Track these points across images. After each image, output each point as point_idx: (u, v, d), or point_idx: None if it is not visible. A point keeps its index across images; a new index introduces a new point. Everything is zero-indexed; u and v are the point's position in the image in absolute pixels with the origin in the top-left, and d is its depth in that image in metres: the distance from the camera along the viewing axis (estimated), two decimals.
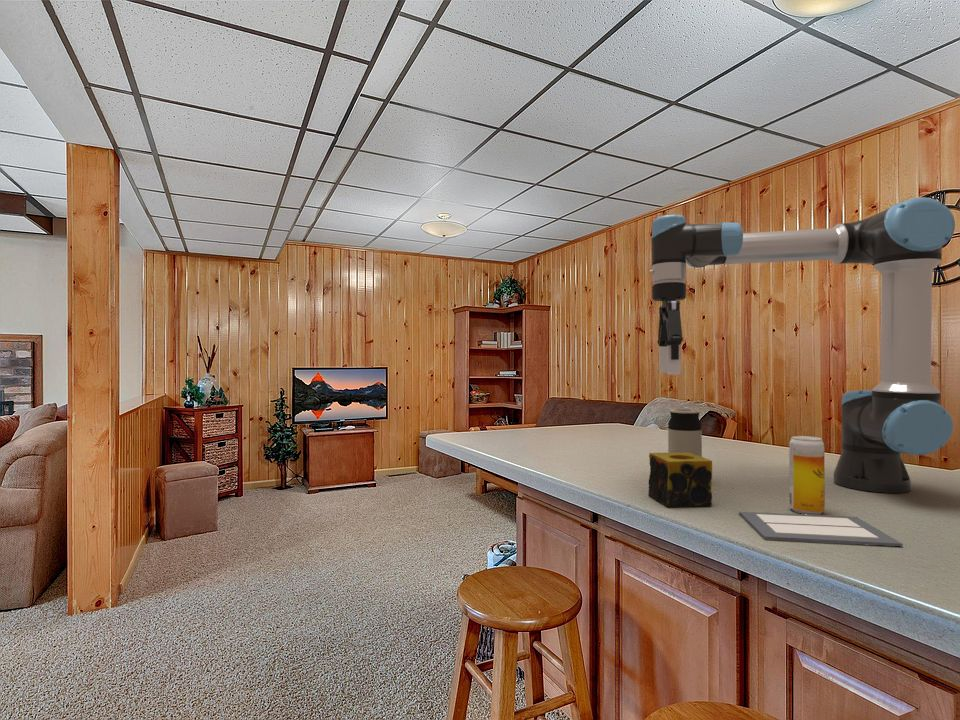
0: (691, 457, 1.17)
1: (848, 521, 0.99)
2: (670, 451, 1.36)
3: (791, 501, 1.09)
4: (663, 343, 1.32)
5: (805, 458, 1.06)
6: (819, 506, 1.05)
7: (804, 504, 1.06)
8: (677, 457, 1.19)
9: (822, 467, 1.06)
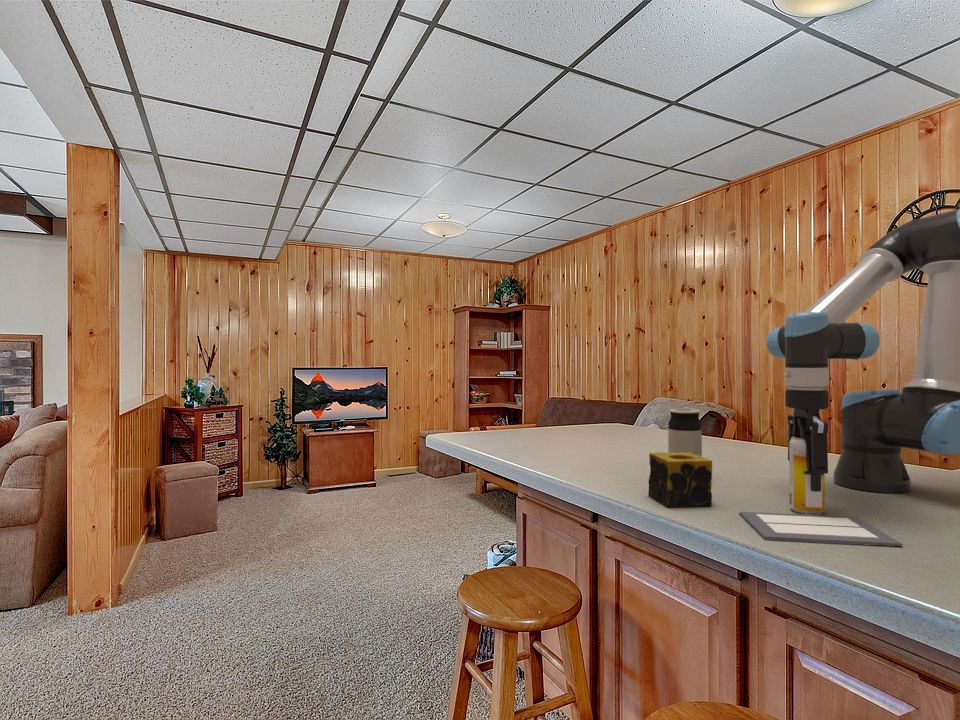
0: (691, 457, 1.17)
1: (848, 521, 0.99)
2: (670, 451, 1.36)
3: (791, 501, 1.09)
4: None
5: (805, 458, 1.06)
6: None
7: (804, 504, 1.06)
8: (677, 457, 1.19)
9: None
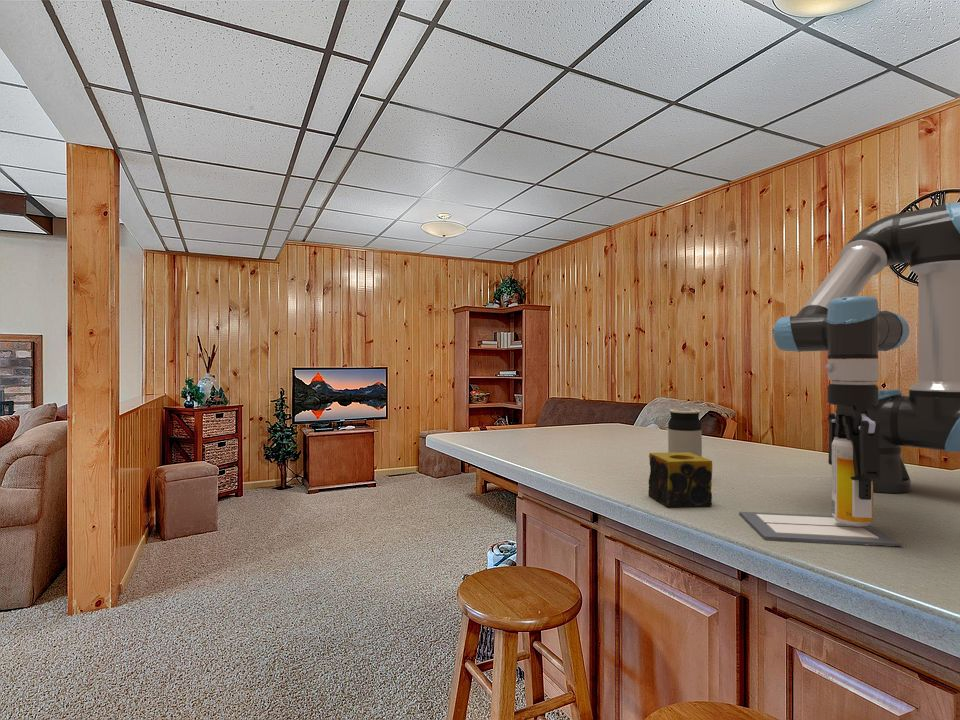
0: (691, 457, 1.17)
1: None
2: (670, 451, 1.36)
3: (834, 510, 0.96)
4: None
5: (851, 462, 0.94)
6: None
7: (850, 514, 0.94)
8: (677, 457, 1.19)
9: None
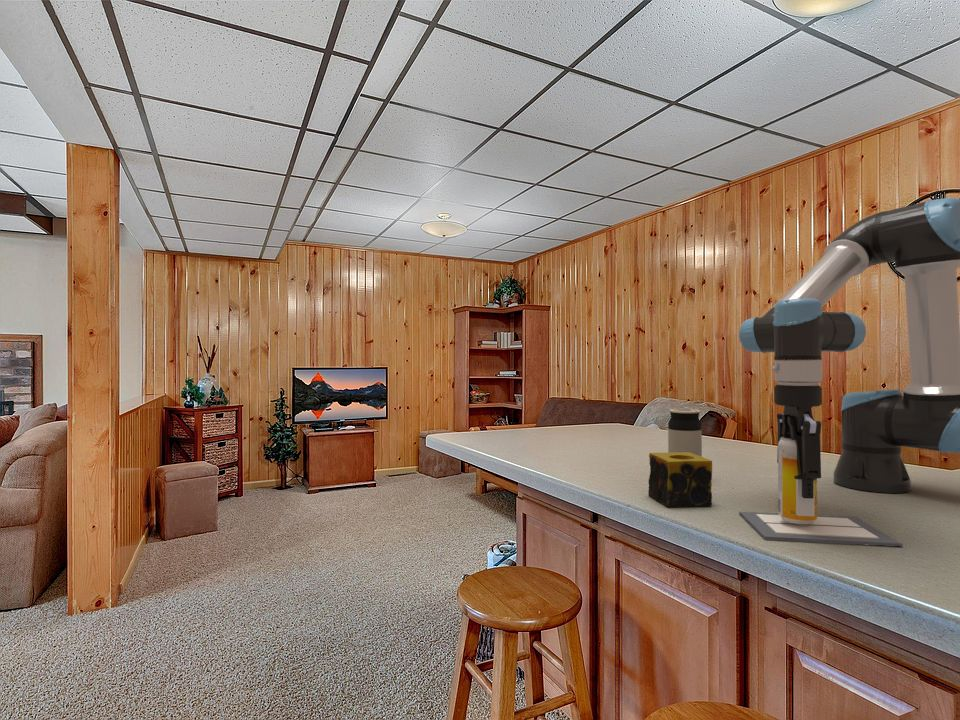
0: (691, 457, 1.17)
1: (848, 521, 0.99)
2: (670, 451, 1.36)
3: (780, 509, 0.98)
4: None
5: (795, 461, 0.95)
6: None
7: (794, 512, 0.95)
8: (677, 457, 1.19)
9: None
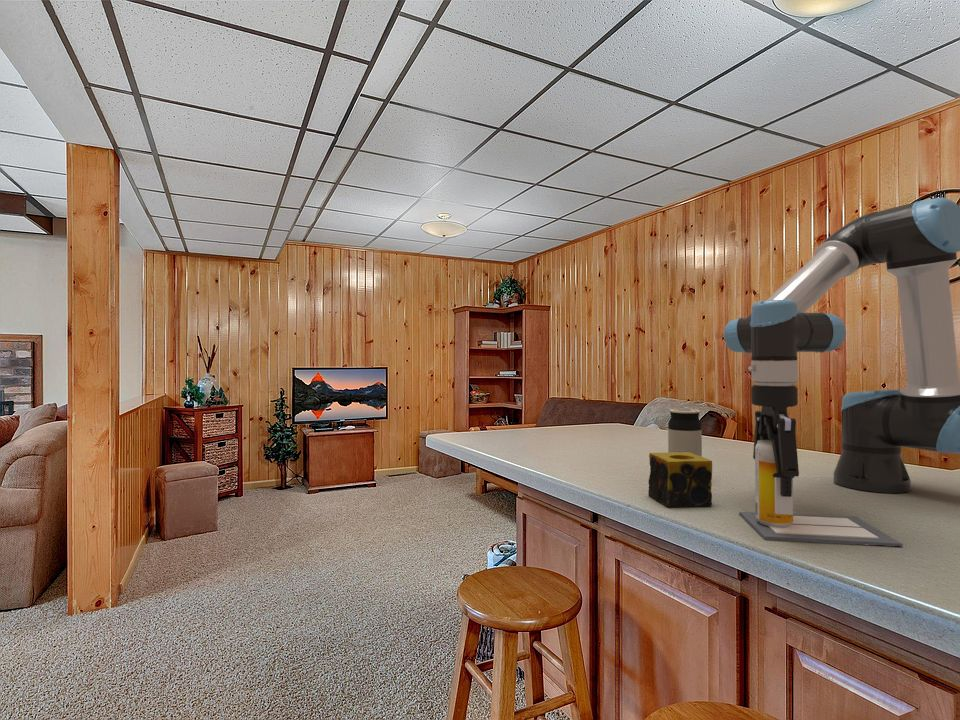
0: (691, 457, 1.17)
1: (848, 521, 0.99)
2: (670, 451, 1.36)
3: (757, 512, 0.99)
4: None
5: (771, 465, 0.96)
6: (786, 518, 0.95)
7: (770, 515, 0.96)
8: (677, 457, 1.19)
9: None
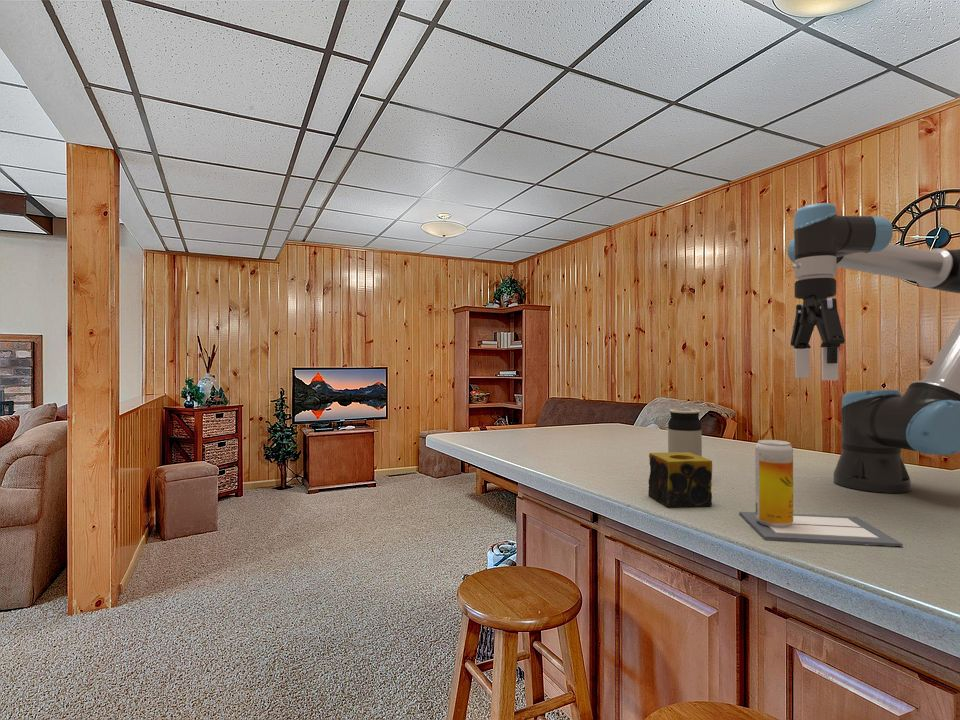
0: (691, 457, 1.17)
1: (848, 521, 0.99)
2: (670, 451, 1.36)
3: (757, 511, 0.99)
4: (800, 345, 1.20)
5: (771, 465, 0.96)
6: (786, 518, 0.95)
7: (770, 515, 0.96)
8: (677, 457, 1.19)
9: (790, 474, 0.96)
